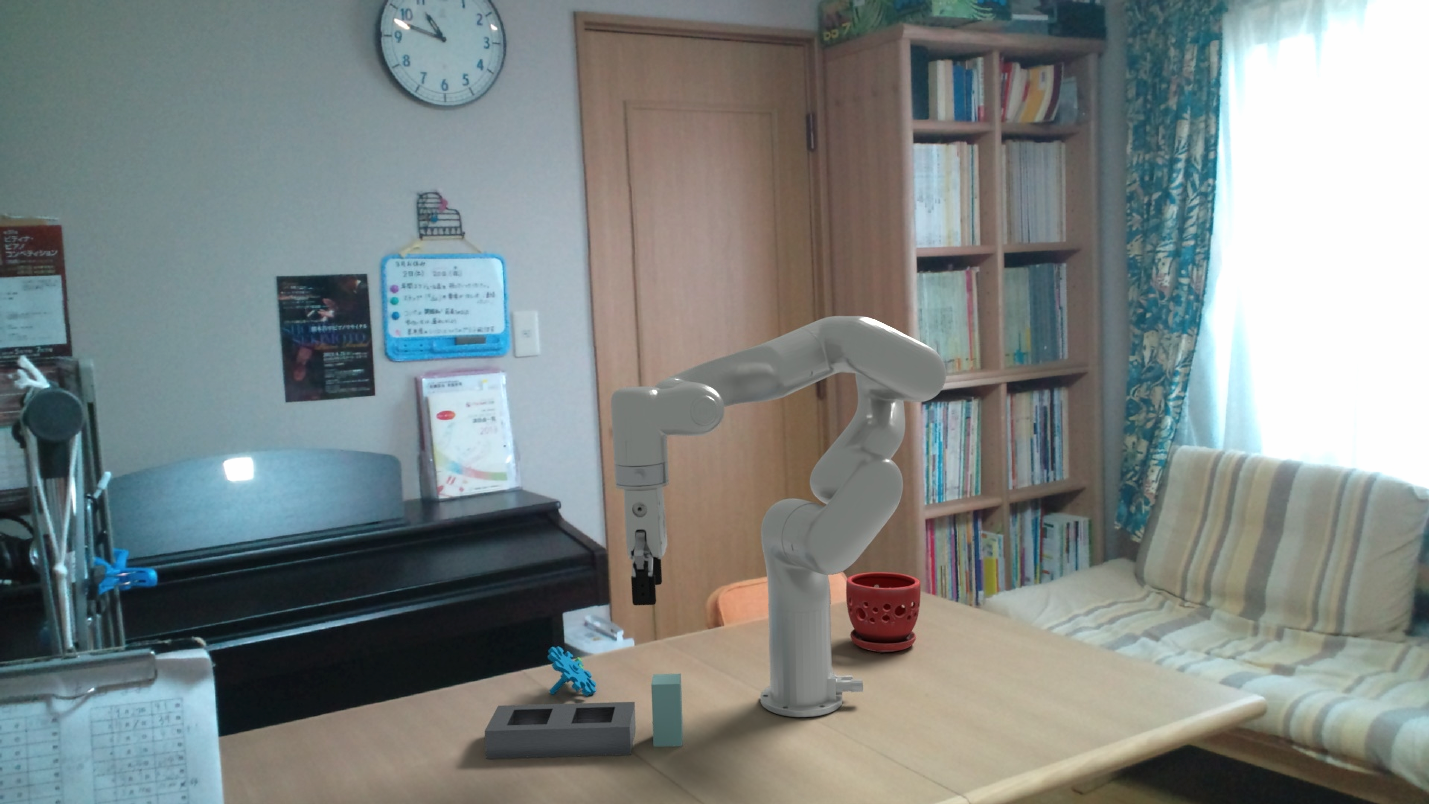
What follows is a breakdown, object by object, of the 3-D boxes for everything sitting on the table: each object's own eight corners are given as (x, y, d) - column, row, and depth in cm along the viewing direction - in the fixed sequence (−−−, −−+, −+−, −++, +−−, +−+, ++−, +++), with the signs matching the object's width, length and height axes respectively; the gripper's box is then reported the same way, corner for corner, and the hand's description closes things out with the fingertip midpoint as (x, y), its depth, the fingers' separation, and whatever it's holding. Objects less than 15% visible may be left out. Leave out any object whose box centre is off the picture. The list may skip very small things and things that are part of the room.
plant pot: (927, 655, 178) (926, 587, 177) (851, 657, 178) (850, 589, 177) (914, 631, 191) (913, 568, 190) (843, 633, 191) (842, 570, 190)
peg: (682, 734, 149) (680, 673, 148) (682, 746, 145) (679, 683, 144) (655, 734, 149) (653, 674, 148) (653, 746, 145) (651, 684, 144)
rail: (635, 728, 151) (634, 701, 151) (630, 754, 142) (629, 726, 142) (499, 732, 151) (498, 705, 151) (486, 759, 142) (484, 731, 142)
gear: (591, 696, 160) (546, 650, 161) (565, 723, 160) (520, 677, 161) (606, 680, 171) (564, 636, 172) (582, 705, 171) (540, 662, 172)
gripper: (663, 485, 135) (669, 612, 137) (672, 464, 153) (678, 576, 154) (606, 487, 136) (613, 613, 137) (622, 465, 153) (628, 578, 155)
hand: (647, 594), depth 146 cm, fingers open, 9 cm apart
